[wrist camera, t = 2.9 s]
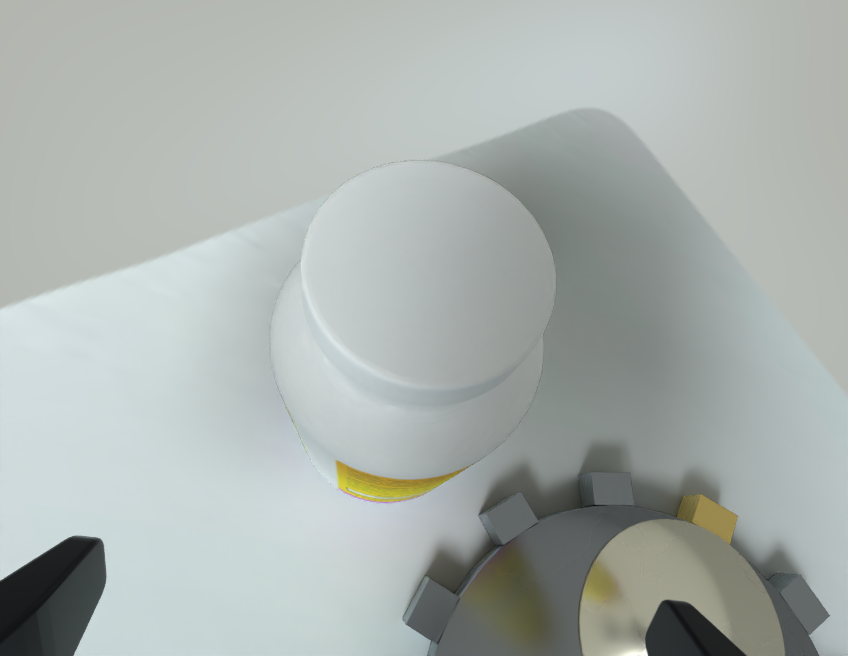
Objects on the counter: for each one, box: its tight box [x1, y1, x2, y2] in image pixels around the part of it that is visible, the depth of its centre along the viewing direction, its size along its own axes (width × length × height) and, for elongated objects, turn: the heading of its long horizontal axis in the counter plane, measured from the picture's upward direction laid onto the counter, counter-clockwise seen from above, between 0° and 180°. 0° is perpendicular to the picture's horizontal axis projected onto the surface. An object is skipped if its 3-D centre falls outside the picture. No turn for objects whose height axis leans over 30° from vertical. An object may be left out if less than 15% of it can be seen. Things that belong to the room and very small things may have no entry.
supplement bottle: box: [270, 160, 556, 504], centre depth 15 cm, size 7×7×13 cm
